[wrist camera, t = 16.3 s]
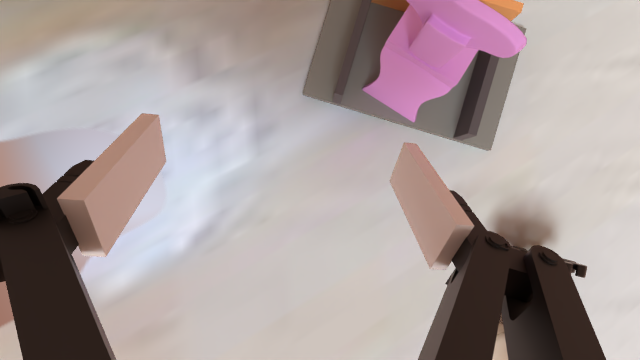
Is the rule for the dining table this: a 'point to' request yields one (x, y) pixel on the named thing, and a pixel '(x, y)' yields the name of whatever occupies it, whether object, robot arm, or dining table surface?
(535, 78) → the dining table surface
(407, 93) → the toy chair
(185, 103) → the dining table surface
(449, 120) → the grey and orange tray
